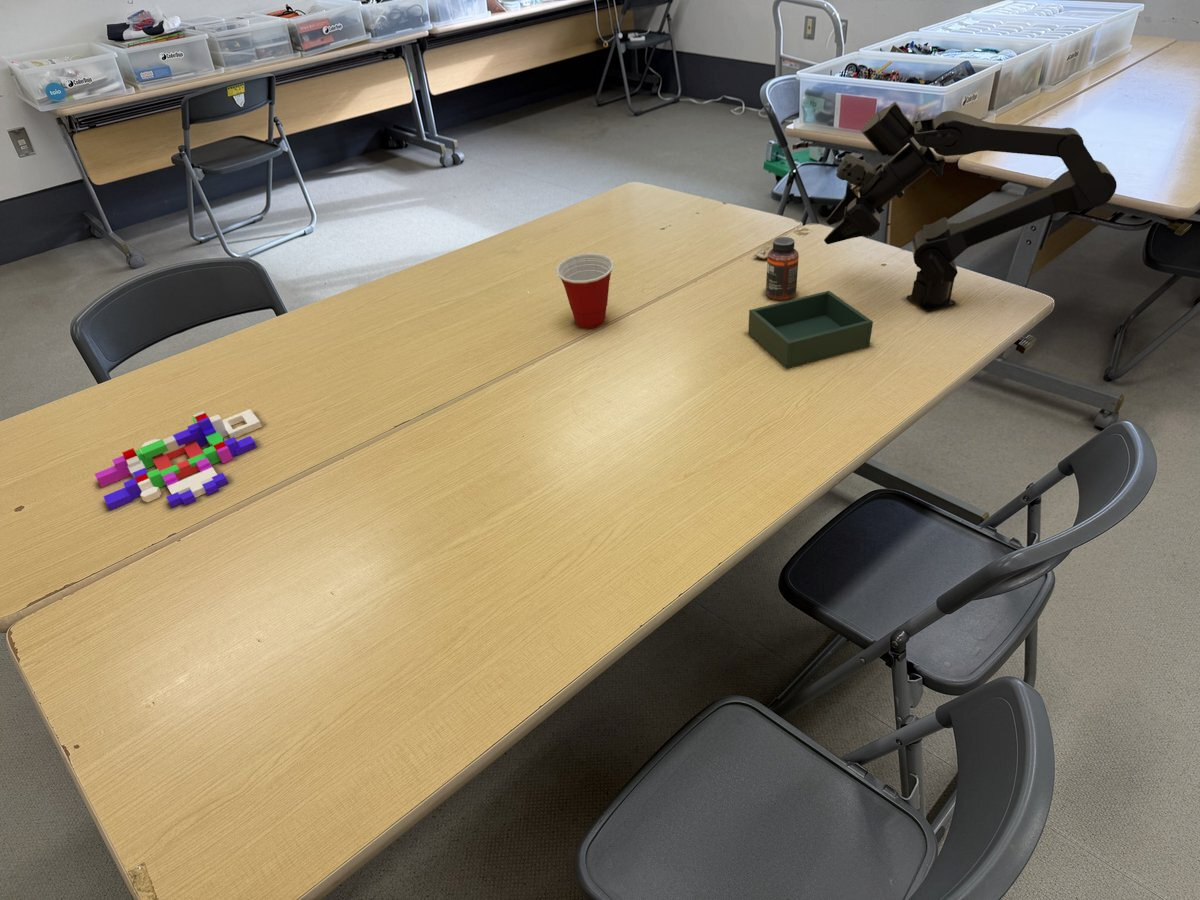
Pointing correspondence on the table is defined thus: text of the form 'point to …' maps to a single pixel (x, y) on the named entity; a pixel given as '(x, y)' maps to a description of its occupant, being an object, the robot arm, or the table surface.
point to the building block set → (170, 474)
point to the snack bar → (765, 250)
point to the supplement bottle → (782, 269)
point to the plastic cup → (587, 287)
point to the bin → (809, 329)
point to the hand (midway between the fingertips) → (826, 232)
